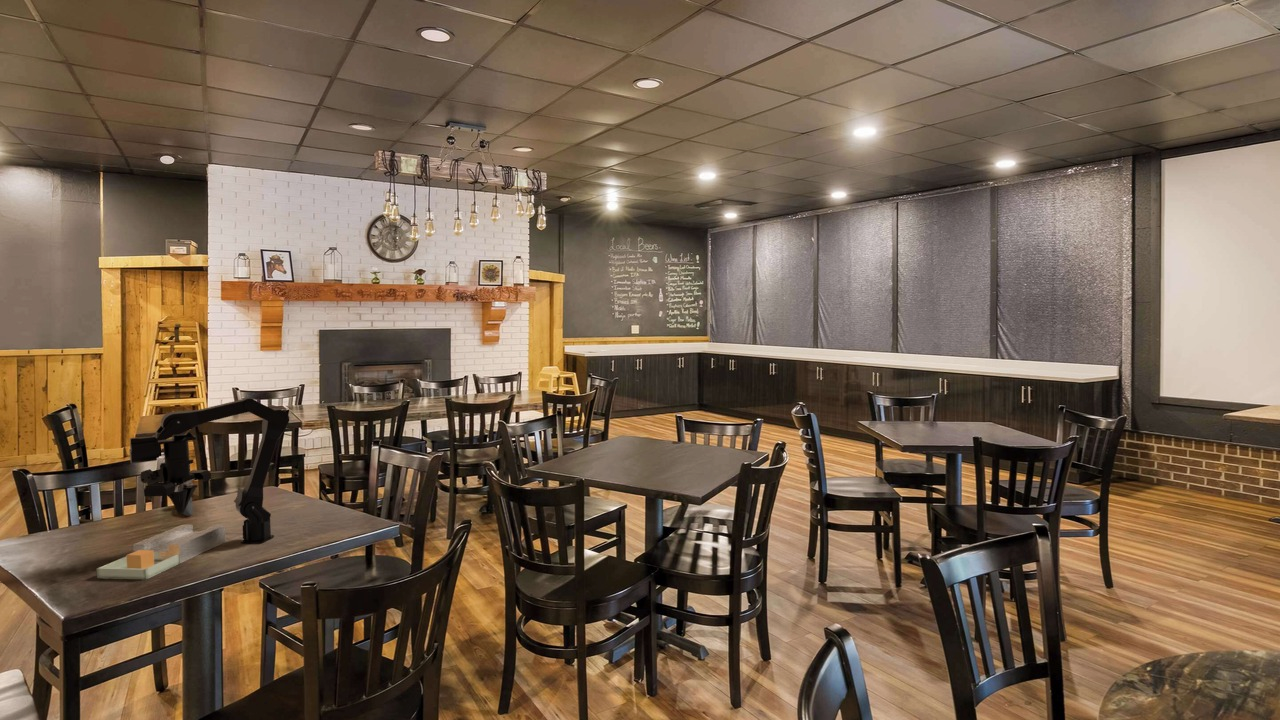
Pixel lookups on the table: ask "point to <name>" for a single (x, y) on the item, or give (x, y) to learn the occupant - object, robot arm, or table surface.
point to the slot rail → (182, 542)
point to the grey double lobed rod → (189, 508)
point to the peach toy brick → (140, 559)
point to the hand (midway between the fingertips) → (181, 513)
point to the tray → (122, 572)
